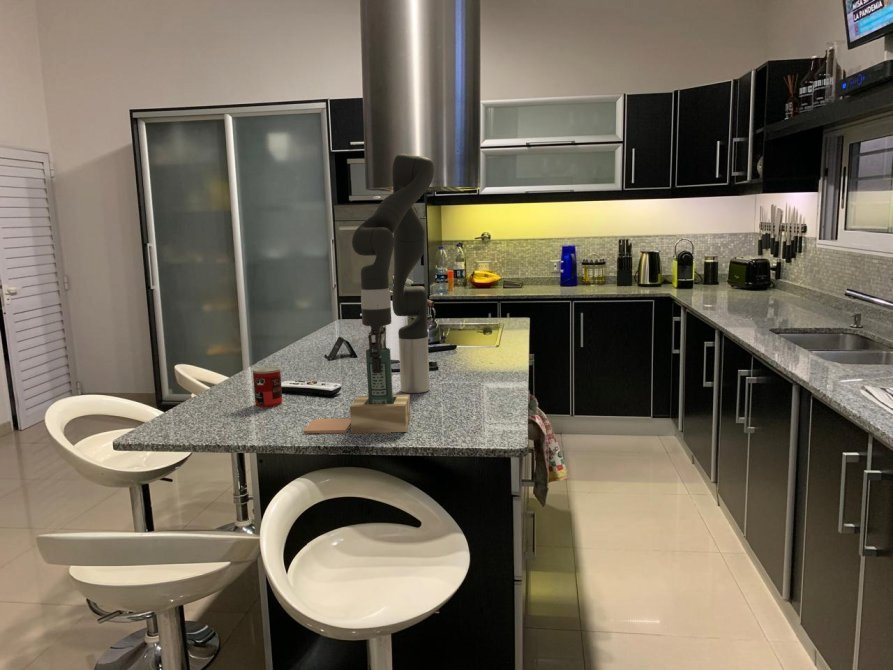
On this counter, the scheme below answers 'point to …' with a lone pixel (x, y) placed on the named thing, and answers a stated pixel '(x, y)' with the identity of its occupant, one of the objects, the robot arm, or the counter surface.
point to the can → (380, 379)
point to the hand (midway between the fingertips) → (379, 369)
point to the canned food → (267, 386)
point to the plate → (328, 426)
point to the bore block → (380, 415)
